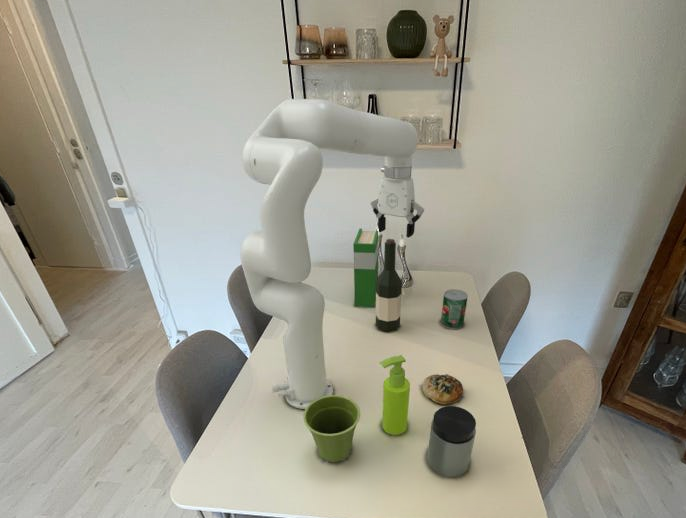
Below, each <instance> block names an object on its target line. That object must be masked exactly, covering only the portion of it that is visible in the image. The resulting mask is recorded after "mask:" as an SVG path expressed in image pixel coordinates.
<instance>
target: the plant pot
mask: <svg viewBox="0 0 686 518" xmlns="http://www.w3.org/2000/svg"><path fill="white" fill-rule="evenodd" d="M302 418H303V423H304V425H305V427H306V428H307V429H308V430H309V433H311V435H312V438H313V440H314V444H315V446H316V449H317V451H318V454H319V456H320V457H321V458H322V459H323V460H325V461H327V462H329V463H338V462H342V461H343V460H345V459H347V458H348V456H349V455H350V453H351V451H352V445H353V439H354V434H355V430H356V427H357V425H358V423H359V421H360V419H361V409H360V406H359V405H358V404H357V403H356V401H354V400H353V399H351V398H349V397H347V396H344V395H339V394H332V395H328V396H324V397H320V398H318V399H316V400H314V401H313V402H311V403H310V404H309V405H308V406H307V408H306V409H304V412H303V415H302Z"/></svg>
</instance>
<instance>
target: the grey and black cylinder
mask: <svg viewBox="0 0 686 518" xmlns="http://www.w3.org/2000/svg"><path fill="white" fill-rule="evenodd" d="M430 423H431V424H430V430H429V431H430V432H429V438H428V446H427V455H426V459H427V464H428V466H429V467H430V468H431V470H432V471H434V472H435V473H436V474H438V475H440V476H443V477H446V478H458V477H460V476H462V475H464V474H465V473H466V472H467V471H468V469H469V467H470V461H471V458H472V453H473V448H474V445H475V444H474V443H475V438H476V434H477V428H476V427H477V421H476V418H475V417H474V415H473V414H472V413H471V412H470V411H468V410H467V409H465V408H463V407H460V406H455V405H446V406H442V407H440V408H438V409H437V410H436V411H435V412H434V414H433V418H432V420H431V422H430Z"/></svg>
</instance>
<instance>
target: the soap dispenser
mask: <svg viewBox="0 0 686 518" xmlns="http://www.w3.org/2000/svg"><path fill="white" fill-rule="evenodd" d="M406 361H407V360H406V358H405V357H404V356H403V355H402V354H401V355H400V354H399V355H395V356H392V357H388V358H385V359H383V360H381V361H379V365H380V366H381V367H382V368H383V369H387V368H389V367H391V366H392V367H391V368H390V369H389V374H388V375H389V376H388V377H386V378H385V379H384V381H383V386H382V387H383V390H382V391H383V392H382V422H381V423H382V429H383V430H384V432H386V433H387V434H389V435H394V436H398V435H402V434H404V433H405V432H406V431H407V428H408V418H409V417H408V416H409V406H410V405H409V402H410V390H411V382H410V381H409V379H408V378H406V370H405V369H404V368H403V367H402V364H404V363H406Z"/></svg>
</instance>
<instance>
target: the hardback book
mask: <svg viewBox="0 0 686 518" xmlns="http://www.w3.org/2000/svg"><path fill="white" fill-rule="evenodd" d="M377 229H378V228H376V230H363V228H359V229H358V231H357V234H356V236H355V239H354V241H353V284H354V285H353V286H354V307H359V308H376V280H377V279H378V277H379V257H380V256H379V254H380V253H379V251H380V249H379V248H380V246H379V245H380V243H379V244H378V231H377Z"/></svg>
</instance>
